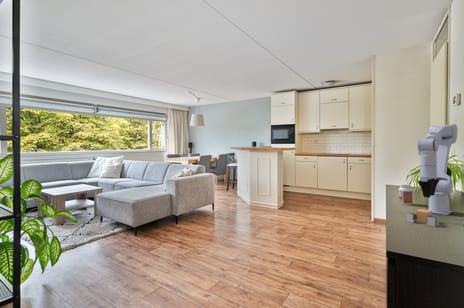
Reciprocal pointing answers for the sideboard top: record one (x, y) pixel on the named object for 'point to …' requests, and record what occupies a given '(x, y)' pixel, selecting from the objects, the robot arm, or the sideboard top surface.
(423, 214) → the orange block
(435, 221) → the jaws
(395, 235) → the sideboard top surface
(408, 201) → the pill bottle
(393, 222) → the sideboard top surface
